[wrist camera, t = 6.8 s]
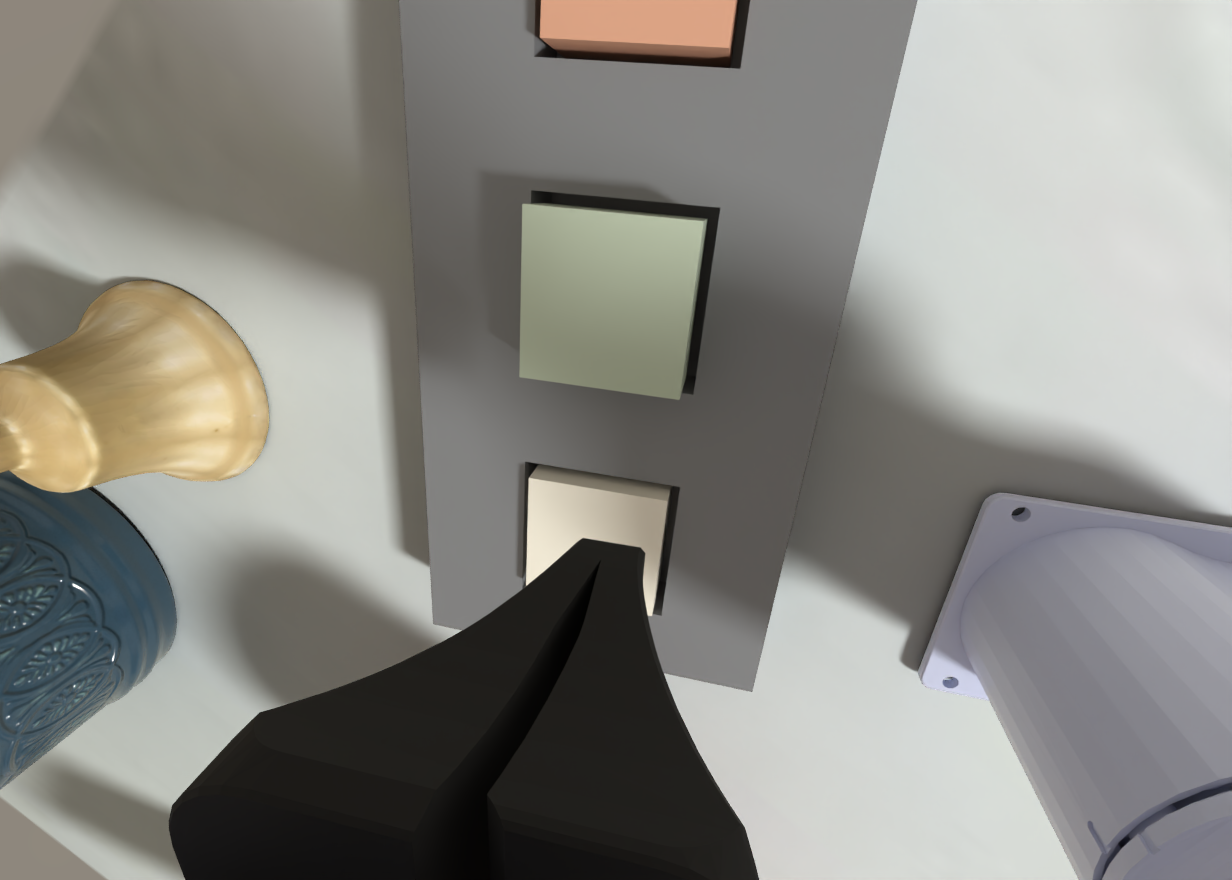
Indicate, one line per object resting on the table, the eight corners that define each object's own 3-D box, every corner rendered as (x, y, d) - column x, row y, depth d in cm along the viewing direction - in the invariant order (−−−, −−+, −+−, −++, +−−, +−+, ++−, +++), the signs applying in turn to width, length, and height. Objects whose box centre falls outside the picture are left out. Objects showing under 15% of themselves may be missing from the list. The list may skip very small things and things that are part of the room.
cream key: (674, 470, 19) (667, 501, 17) (660, 577, 21) (651, 616, 19) (549, 450, 20) (528, 477, 18) (545, 555, 22) (525, 591, 20)
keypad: (968, -315, 12) (1020, -432, 10) (750, 642, 22) (752, 691, 20) (436, -295, 14) (377, -392, 12) (461, 584, 24) (433, 624, 22)
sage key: (708, 218, 15) (703, 221, 13) (686, 376, 17) (679, 399, 15) (549, 203, 16) (522, 203, 14) (544, 357, 18) (519, 377, 16)
